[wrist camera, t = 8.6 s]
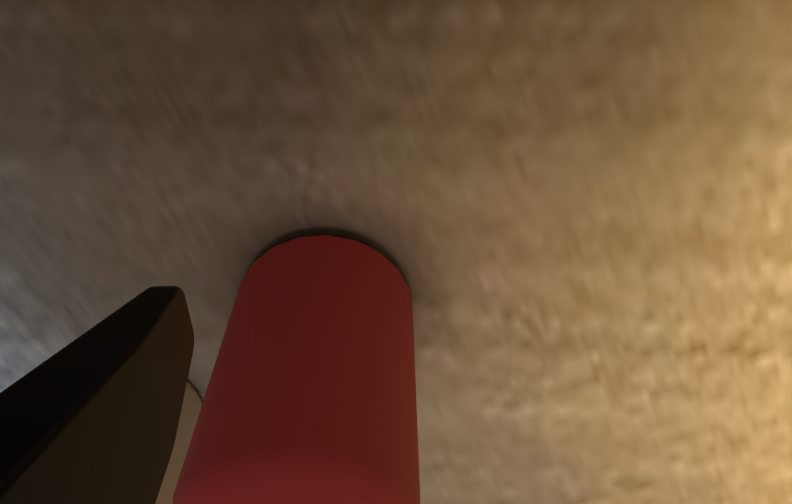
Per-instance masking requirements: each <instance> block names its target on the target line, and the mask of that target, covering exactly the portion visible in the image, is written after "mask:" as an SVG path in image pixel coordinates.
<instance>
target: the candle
mask: <svg viewBox="0 0 792 504" xmlns="http://www.w3.org/2000/svg"><path fill="white" fill-rule="evenodd" d="M201 407H202V401H201V398H200V396H199V394H198V393H197V391H196V390H195V389H194V387H193V386H192V385H191V384H190V383H189V382H188V381H187V384H186V389H185V394H184V399H183V404H182V409H181V414H180V420H179V425H178V430H177V434H176V439H175V443H174V447H173V450H172V453H171V457H170V460H169V463H168V466H167V469H166V473H165V476H164V479H163V482H162V485H161V488H160V491H159V494H158V497H157V500H156V503H155V504H172V503H173V494H174V491H175V488H176V485H177V482H178V479H179V476H180V472H181V469H182V466H183V463H184V460H185V457H186V454H187V451H188V447H189V444H190V441H191V438H192V435H193V432H194V429H195V426H196V422H197V419H198V416H199V413H200V410H201Z"/></svg>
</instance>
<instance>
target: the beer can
mask: <svg viewBox="0 0 792 504" xmlns="http://www.w3.org/2000/svg"><path fill="white" fill-rule="evenodd" d="M172 504H420V483H419V458H418V433H417V408H416V383H415V358H414V333H413V312H412V301H411V292H410V290H409V288H408V286H407V284H406V282H405V280H404V278H403V277H402V275H401V273H400V271H399V270H398V269H397V268H396V267H395V266H394V265H393V264H392V263H391V262H389V261H388V260H387V259H386V258H385V257H384V256H383V255H382V254H381V253H380V252H378V251H376V250H374V249H372V248H370V247H368V246H366V245H364V244H362V243H360V242H358V241H356V240H351V239H346V238H341V237H336V236H330V235H320V236H307V237H298V238H296V239H293V240H290V241H288V242H285V243H282V244H280V245H277V246H274V247H273V248H271V249H270V250H269V251H268V252H266V253H265V254H264V255H263V256H261V257H260V258H259V259H258V260H256V261H255V262H254V263H253V264H252V265H251V267H250V269H249V270H248V272H247V274H246V275H245V277H244V279H243V281H242V282H241V285H240V288H239V291H238V294H237V297H236V300H235V303H234V307H233V310H232V313H231V316H230V319H229V322H228V325H227V328H226V332H225V335H224V338H223V341H222V344H221V347H220V350H219V353H218V357H217V360H216V363H215V366H214V369H213V372H212V375H211V379H210V382H209V385H208V388H207V391H206V394H205V397H204V400H203V404H202V407H201V410H200V413H199V416H198V419H197V422H196V426H195V429H194V432H193V435H192V438H191V441H190V444H189V447H188V451H187V454H186V457H185V460H184V463H183V466H182V469H181V472H180V476H179V479H178V482H177V485H176V488H175V491H174V494H173V503H172Z"/></svg>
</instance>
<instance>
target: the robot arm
mask: <svg viewBox="0 0 792 504" xmlns="http://www.w3.org/2000/svg"><path fill="white" fill-rule="evenodd" d="M193 348H194V333H193V328H192V324H191V320H190V315H189V311H188V307H187V303H186V299H185V295H184V293H183V291H182V289H181V288H179V287H177V286H155V287H150V288H148V289H146V290H145V291H143V292H142V293H141V294H139V295H138V296H136V297H135V298H134V299H132V300H131V301H129V302H128V303H126V304H125V305H124V306H122V307H121V308H119V309H118V310H117V311H115V312H114V313H112V314H111V315H110V316H108V317H107V318H105V319H104V320H102V321H101V322H100V323H98V324H97V325H95V326H94V327H93V328H91V329H90V330H88V331H87V332H86V333H84V334H83V335H81V336H80V337H79V338H77V339H76V340H74V341H73V342H71V343H70V344H69V345H67V346H66V347H64V348H63V349H62V350H60V351H59V352H57V353H56V354H55V355H53V356H52V357H50V358H49V359H47V360H46V361H45V362H43V363H42V364H40V365H39V366H38V367H36V368H35V369H33V370H32V371H31V372H29V373H28V374H26V375H25V376H24V377H22V378H21V379H19V380H18V381H16V382H15V383H14V384H12V385H11V386H9V387H8V388H7V389H5V390H4V391H2V392H1V393H0V504H155V503H156V500H157V497H158V494H159V491H160V488H161V485H162V482H163V479H164V476H165V473H166V469H167V466H168V463H169V460H170V457H171V453H172V450H173V447H174V443H175V439H176V434H177V430H178V425H179V420H180V414H181V409H182V404H183V399H184V394H185V389H186V384H187V379H188V374H189V369H190V364H191V358H192V353H193Z"/></svg>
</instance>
